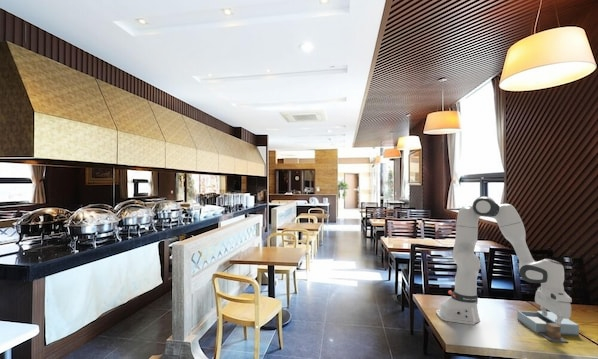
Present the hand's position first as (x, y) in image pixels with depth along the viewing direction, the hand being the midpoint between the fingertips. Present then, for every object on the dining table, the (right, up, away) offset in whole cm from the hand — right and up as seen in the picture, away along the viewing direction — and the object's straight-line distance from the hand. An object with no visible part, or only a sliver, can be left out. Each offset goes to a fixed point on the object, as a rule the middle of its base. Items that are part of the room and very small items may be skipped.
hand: (551, 319), depth 150 cm
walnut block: (+1, -9, 0) cm, 8 cm away
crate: (+7, -10, +11) cm, 16 cm away
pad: (+1, -9, 0) cm, 9 cm away
